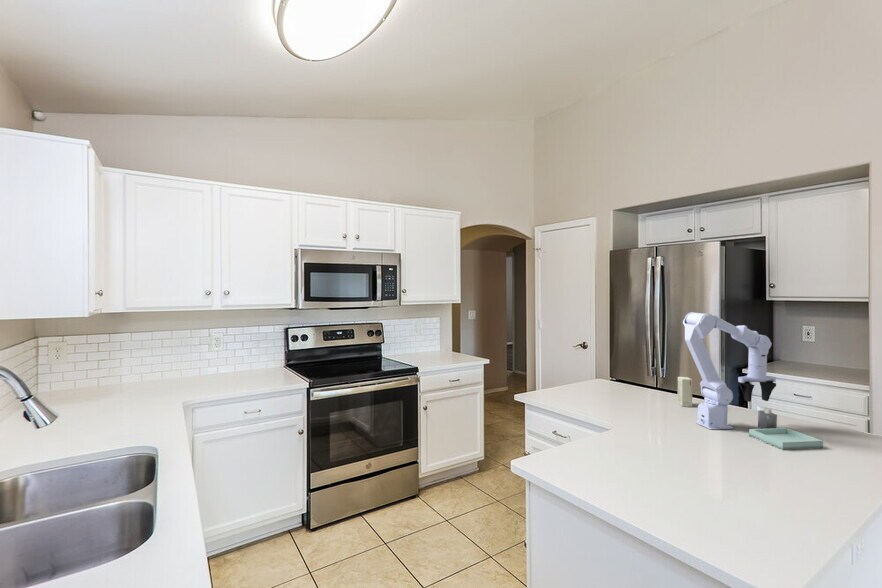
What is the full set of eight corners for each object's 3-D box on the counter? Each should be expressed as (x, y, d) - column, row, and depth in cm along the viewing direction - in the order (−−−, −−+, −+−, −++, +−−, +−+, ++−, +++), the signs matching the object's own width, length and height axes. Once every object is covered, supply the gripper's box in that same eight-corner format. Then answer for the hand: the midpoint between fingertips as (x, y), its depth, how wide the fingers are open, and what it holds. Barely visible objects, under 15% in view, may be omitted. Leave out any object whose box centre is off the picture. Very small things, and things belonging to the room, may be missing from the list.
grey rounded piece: (770, 432, 160) (771, 411, 159) (755, 426, 166) (756, 406, 166) (779, 431, 160) (779, 411, 160) (763, 425, 167) (764, 406, 166)
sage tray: (782, 450, 142) (782, 442, 142) (749, 436, 155) (749, 429, 155) (822, 448, 144) (822, 440, 144) (786, 434, 157) (786, 427, 157)
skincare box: (692, 407, 191) (693, 379, 191) (681, 406, 192) (682, 379, 192) (687, 403, 197) (687, 376, 197) (676, 402, 198) (677, 376, 198)
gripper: (764, 363, 172) (763, 397, 172) (732, 363, 170) (731, 398, 170) (781, 366, 165) (780, 402, 165) (747, 367, 163) (746, 403, 163)
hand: (756, 400), depth 167 cm, fingers open, 7 cm apart
